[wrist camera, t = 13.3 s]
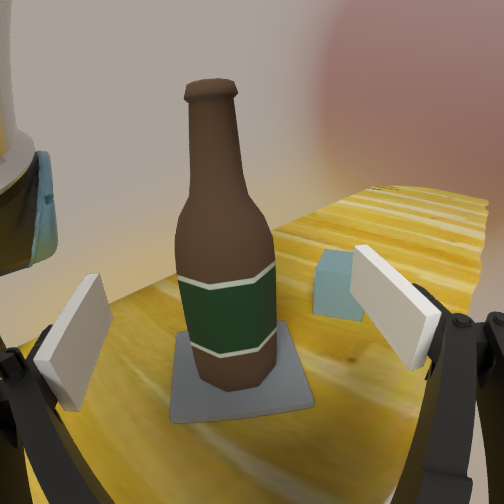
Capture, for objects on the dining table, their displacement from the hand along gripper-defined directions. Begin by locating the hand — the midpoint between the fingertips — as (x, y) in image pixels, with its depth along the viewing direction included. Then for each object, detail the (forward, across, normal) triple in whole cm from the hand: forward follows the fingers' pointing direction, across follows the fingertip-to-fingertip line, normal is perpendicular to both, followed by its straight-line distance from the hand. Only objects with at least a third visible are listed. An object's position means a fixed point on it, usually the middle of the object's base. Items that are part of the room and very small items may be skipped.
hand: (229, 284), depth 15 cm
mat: (+8, 0, -14) cm, 16 cm away
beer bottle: (+8, 0, -14) cm, 16 cm away
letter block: (+17, +14, -14) cm, 26 cm away
